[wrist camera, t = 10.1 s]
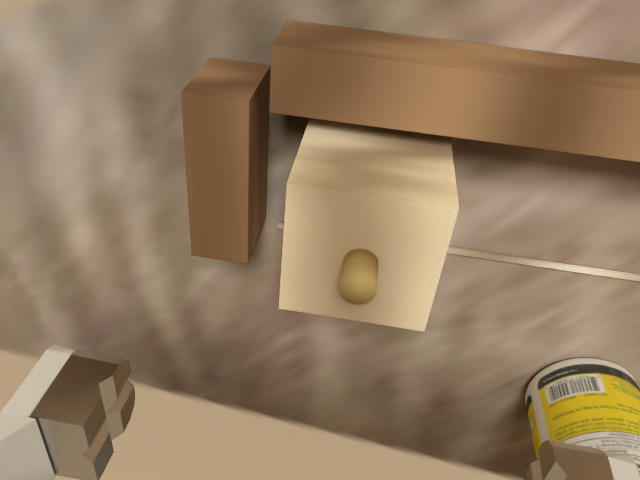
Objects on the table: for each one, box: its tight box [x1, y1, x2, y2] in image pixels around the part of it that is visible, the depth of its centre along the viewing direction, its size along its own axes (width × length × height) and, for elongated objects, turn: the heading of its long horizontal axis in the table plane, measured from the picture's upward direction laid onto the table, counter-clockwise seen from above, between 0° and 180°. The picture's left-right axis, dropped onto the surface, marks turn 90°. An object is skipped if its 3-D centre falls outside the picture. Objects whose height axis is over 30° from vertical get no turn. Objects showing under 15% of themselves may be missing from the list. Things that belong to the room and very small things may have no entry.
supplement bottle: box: [525, 358, 640, 475], centre depth 22 cm, size 5×5×8 cm
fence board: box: [181, 20, 640, 281], centre depth 18 cm, size 20×8×3 cm, turn 86°
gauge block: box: [279, 118, 459, 331], centre depth 18 cm, size 4×4×7 cm
